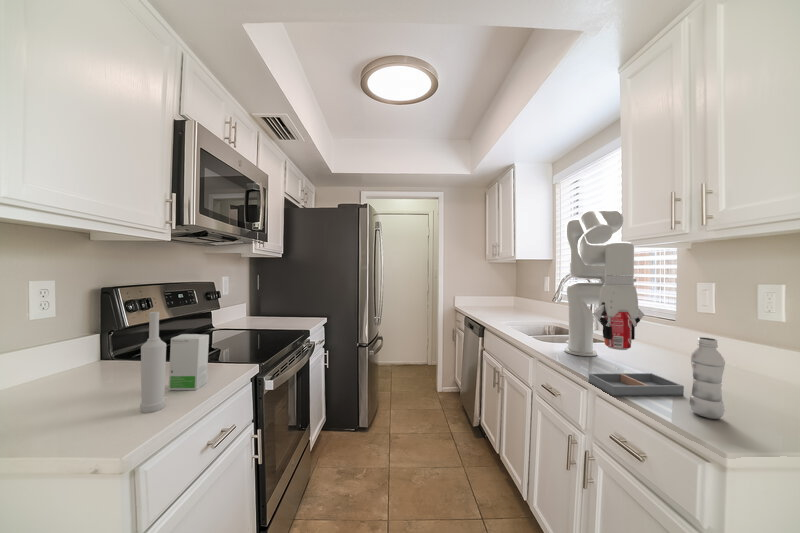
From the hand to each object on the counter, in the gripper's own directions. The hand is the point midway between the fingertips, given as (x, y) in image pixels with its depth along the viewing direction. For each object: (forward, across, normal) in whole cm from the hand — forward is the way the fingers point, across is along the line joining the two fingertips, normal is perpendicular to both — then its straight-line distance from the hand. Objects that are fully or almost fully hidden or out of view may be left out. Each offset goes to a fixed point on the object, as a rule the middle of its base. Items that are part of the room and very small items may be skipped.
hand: (618, 338), depth 97 cm
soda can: (+3, 0, 0) cm, 3 cm away
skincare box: (+17, +133, -6) cm, 134 cm away
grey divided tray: (+16, -6, 0) cm, 17 cm away
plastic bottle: (+16, -10, +18) cm, 26 cm away
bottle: (+17, +133, +10) cm, 134 cm away
